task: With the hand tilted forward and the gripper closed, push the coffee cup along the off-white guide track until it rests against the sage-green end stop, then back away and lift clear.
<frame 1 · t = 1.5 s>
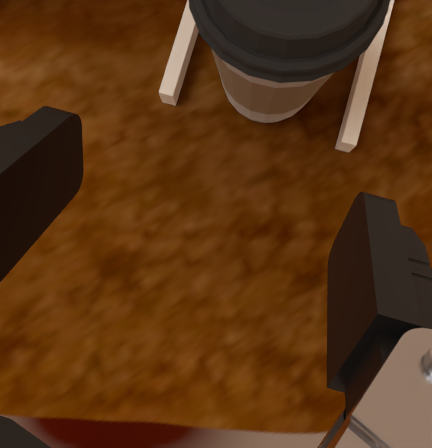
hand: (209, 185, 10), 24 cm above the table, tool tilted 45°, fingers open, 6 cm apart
guide track: (279, 40, 36), on the table
coffee cup: (266, 84, 36), on the table
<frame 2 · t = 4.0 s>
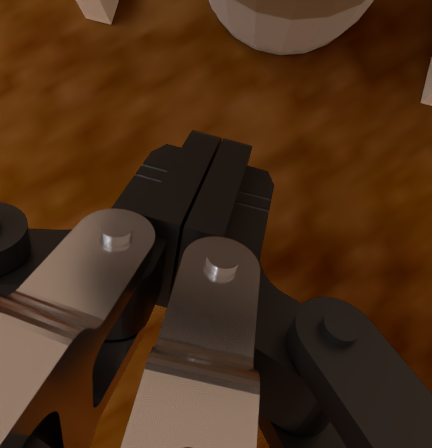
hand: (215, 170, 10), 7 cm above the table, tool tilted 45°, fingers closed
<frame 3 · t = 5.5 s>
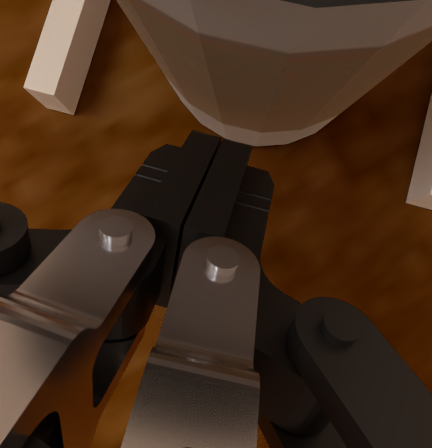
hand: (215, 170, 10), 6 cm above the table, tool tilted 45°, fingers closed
coffee cup: (262, 66, 17), on the table, touching gripper
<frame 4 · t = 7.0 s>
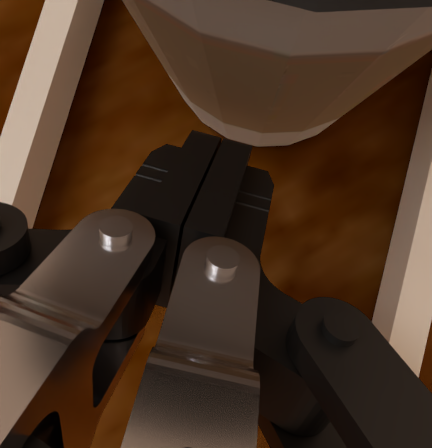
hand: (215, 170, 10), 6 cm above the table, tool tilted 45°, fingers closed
guide track: (230, 158, 17), on the table
coffee cup: (265, 66, 17), on the table, touching gripper
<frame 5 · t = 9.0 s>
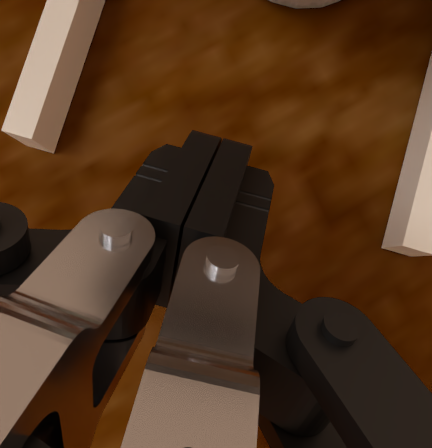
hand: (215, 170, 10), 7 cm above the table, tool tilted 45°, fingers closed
guide track: (267, 21, 18), on the table
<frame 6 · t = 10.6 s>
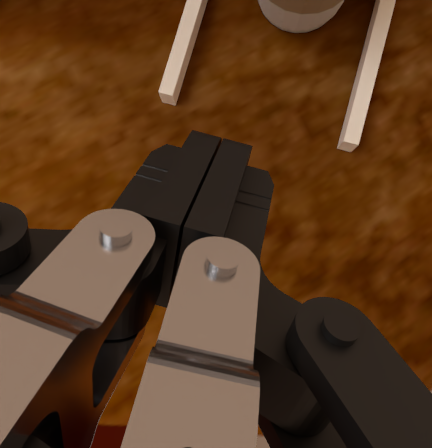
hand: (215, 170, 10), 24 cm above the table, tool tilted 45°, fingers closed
guide track: (280, 39, 35), on the table
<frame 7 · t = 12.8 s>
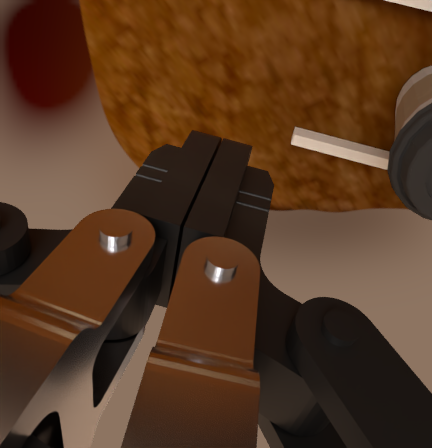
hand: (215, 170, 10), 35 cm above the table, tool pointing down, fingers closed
guide track: (394, 83, 41), on the table
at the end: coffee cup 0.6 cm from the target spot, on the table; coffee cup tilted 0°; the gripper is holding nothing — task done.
